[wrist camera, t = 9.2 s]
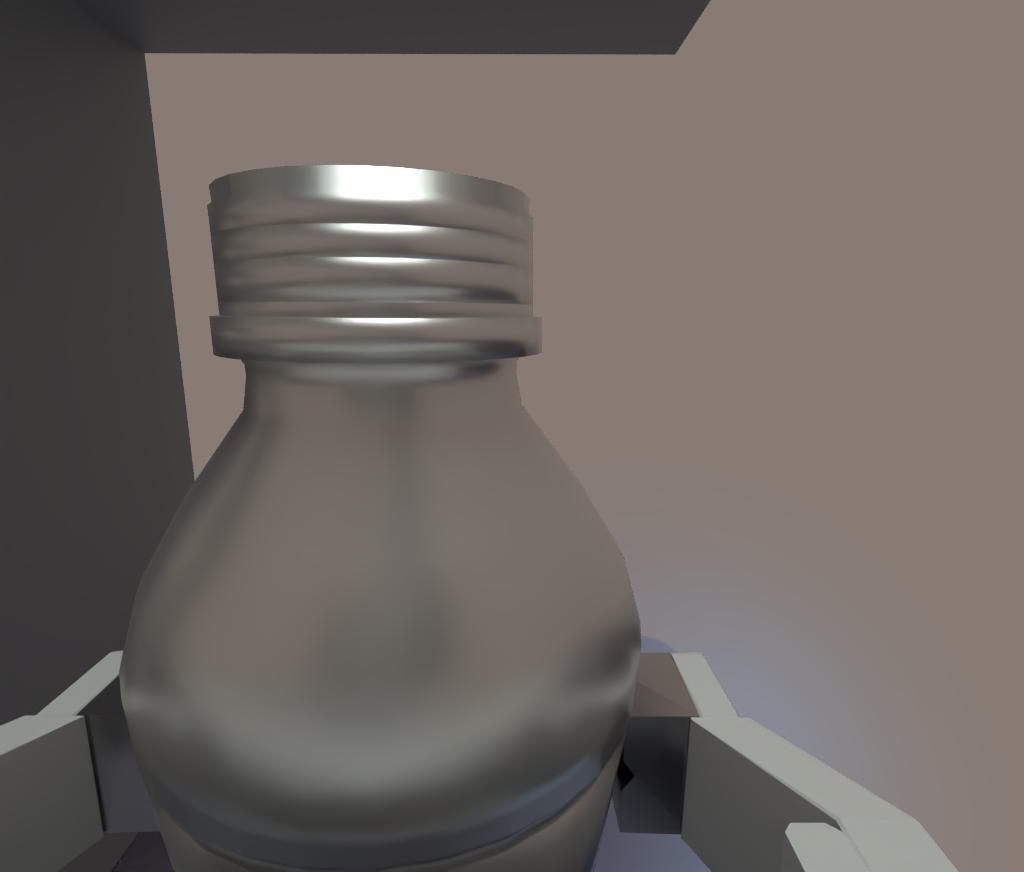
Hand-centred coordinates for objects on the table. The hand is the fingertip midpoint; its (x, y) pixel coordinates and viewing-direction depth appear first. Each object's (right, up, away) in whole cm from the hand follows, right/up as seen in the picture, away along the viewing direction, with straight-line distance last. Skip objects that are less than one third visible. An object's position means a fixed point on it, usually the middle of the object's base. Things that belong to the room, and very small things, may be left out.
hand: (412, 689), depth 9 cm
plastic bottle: (0, -13, +2) cm, 13 cm away
